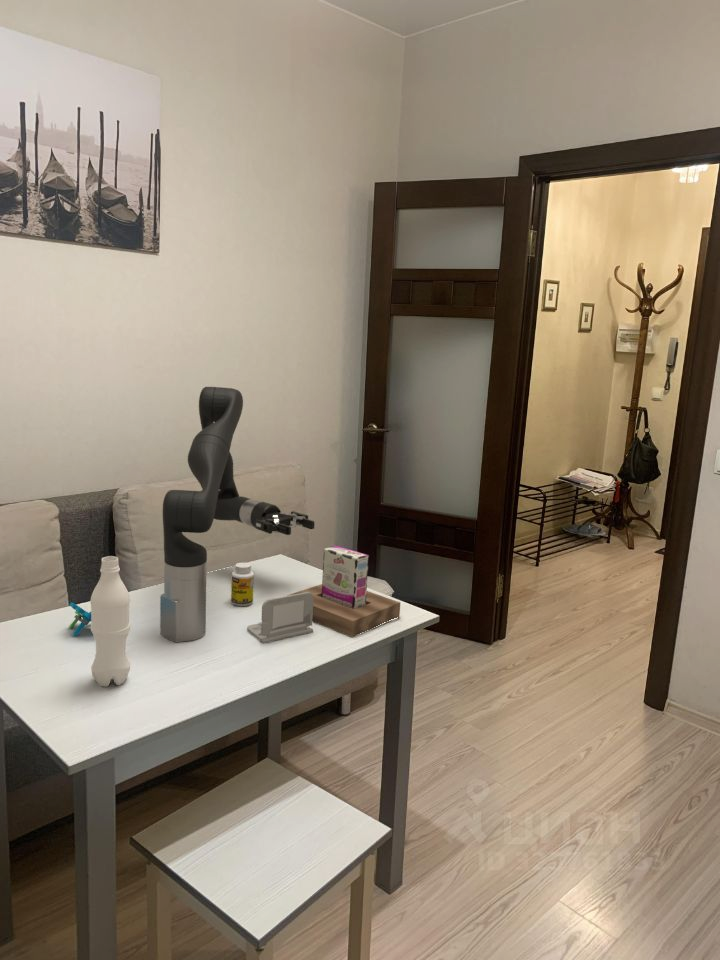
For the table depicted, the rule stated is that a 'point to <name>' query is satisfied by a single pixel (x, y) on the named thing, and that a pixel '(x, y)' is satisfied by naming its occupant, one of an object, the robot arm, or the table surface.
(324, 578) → the candy bar box
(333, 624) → the walnut holder block
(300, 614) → the handheld gaming console
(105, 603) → the water bottle
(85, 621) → the blue green plastic toy
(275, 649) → the table surface
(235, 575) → the supplement bottle
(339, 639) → the table surface
